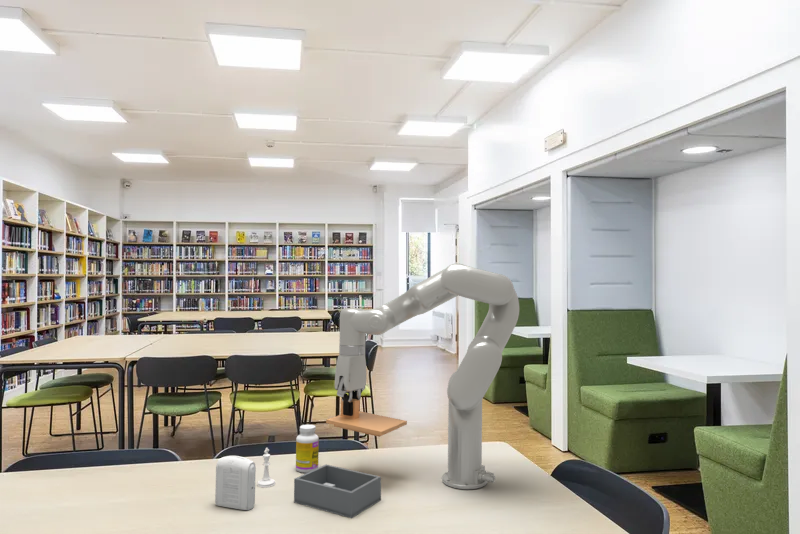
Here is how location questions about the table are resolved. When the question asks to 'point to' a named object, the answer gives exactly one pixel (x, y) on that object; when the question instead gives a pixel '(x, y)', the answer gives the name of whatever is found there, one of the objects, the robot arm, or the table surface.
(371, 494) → the tub
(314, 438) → the supplement bottle
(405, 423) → the lid
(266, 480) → the chess piece
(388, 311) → the robot arm
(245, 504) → the photo printer
